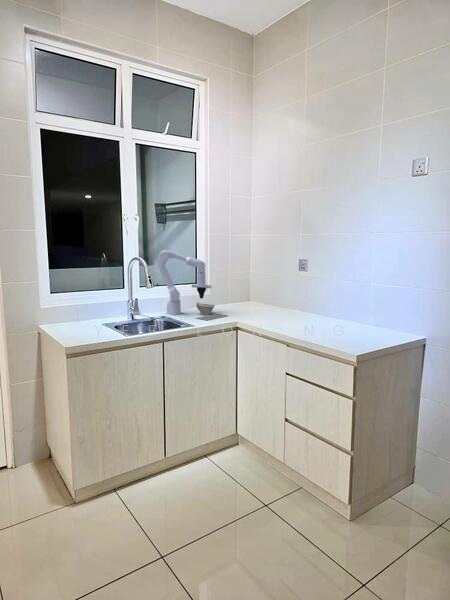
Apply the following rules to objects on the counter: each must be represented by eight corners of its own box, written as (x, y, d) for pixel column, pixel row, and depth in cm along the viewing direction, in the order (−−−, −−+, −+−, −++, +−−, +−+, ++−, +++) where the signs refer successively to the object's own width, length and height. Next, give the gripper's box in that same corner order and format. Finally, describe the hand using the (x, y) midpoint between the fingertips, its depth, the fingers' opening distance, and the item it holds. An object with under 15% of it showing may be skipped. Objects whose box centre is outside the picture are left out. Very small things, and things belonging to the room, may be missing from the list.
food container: (213, 317, 265) (212, 312, 275) (214, 309, 264) (214, 304, 273) (195, 315, 264) (195, 310, 273) (196, 306, 262) (196, 302, 272)
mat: (196, 318, 253) (196, 318, 253) (217, 314, 267) (217, 313, 267) (206, 320, 246) (206, 320, 246) (228, 316, 260) (228, 315, 260)
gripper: (189, 278, 267) (189, 298, 269) (207, 279, 261) (207, 299, 263) (194, 277, 273) (194, 297, 275) (212, 278, 267) (212, 298, 269)
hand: (201, 298), depth 270 cm, fingers closed
